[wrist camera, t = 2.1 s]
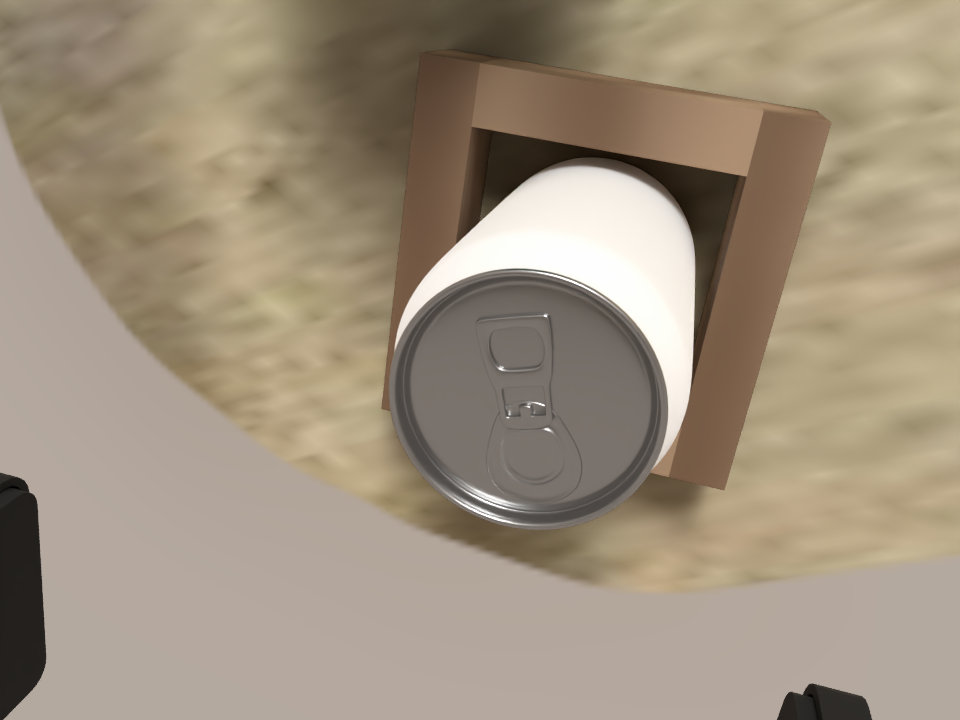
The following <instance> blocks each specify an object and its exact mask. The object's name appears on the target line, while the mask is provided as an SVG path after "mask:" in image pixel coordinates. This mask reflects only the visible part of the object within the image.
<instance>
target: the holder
mask: <svg viewBox="0 0 960 720" xmlns="http://www.w3.org/2000/svg"><path fill="white" fill-rule="evenodd" d="M830 126H831V122H830V121H829V120H827V119H826V118H825V117H824V116H823V115H821V114H820V113H819V112H818V111H813V110H807V109H801V108H795V107H789V106H783V105H777V104H771V103H765V102H759V101H754V100H748V99H742V98H736V97H730V96H724V95H718V94H712V93H706V92H700V91H694V90H688V89H682V88H676V87H670V86H664V85H658V84H652V83H646V82H641V81H635V80H629V79H623V78H617V77H611V76H605V75H599V74H593V73H587V72H581V71H575V70H569V69H563V68H557V67H551V66H545V65H539V64H534V63H528V62H522V61H516V60H510V59H504V58H498V57H492V56H486V55H480V54H474V53H468V52H462V51H456V50H450V49H447V50H440V51H432V52H425V53H420V62H419V72H418V81H417V90H416V99H415V108H414V117H413V126H412V135H411V145H410V154H409V163H408V172H407V181H406V190H405V199H404V208H403V218H402V227H401V236H400V245H399V254H398V263H397V272H396V281H395V291H394V300H393V309H392V318H391V327H390V336H389V345H388V354H387V363H386V373H385V382H384V391H383V400H382V409H384V410H388V411H391V410H390V404H389V374H390V368H391V363H392V359H393V355H394V350H395V341H396V336H397V331H398V327H399V324H400V321H401V318H402V315H403V313H404V310H405V308H406V306H407V304H408V302H409V300H410V298H411V297H412V295H413V293H414V292H415V290H416V288H417V287H418V285H419V284H420V283H421V281H422V280H423V279H424V277H425V276H426V275H427V274H428V273H429V271H430V270H431V269H432V268H433V267H434V266H435V265H436V264H437V263H438V262H439V261H440V260H441V259H442V258H443V257H444V256H445V255H446V254H447V253H448V252H449V251H450V250H451V249H452V248H453V247H454V246H455V245H456V244H457V243H458V242H459V241H460V240H461V239H462V238H463V237H464V236H466V235H467V234H468V233H469V232H470V231H471V230H472V229H473V228H474V227H475V226H476V225H477V224H478V223H479V219H480V212H481V205H482V198H483V191H484V184H485V177H486V170H487V163H488V157H489V150H490V143H491V136H492V130H493V131H499V132H504V133H510V134H515V135H521V136H526V137H532V138H537V139H543V140H548V141H554V142H559V143H565V144H570V145H576V146H581V147H587V148H592V149H598V150H603V151H609V152H614V153H620V154H625V155H631V156H636V157H642V158H647V159H653V160H658V161H664V162H669V163H675V164H680V165H686V166H691V167H697V168H702V169H708V170H713V171H719V172H724V173H730V174H735V175H738V178H737V182H736V186H735V190H734V193H733V197H732V201H731V205H730V209H729V213H728V217H727V221H726V225H725V228H724V232H723V236H722V240H721V244H720V248H719V252H718V256H717V260H716V264H715V267H714V271H713V275H712V279H711V283H710V287H709V291H708V295H707V299H706V303H705V306H704V310H703V314H702V318H701V322H700V326H699V330H698V334H697V338H696V341H695V345H694V349H693V363H692V379H691V388H690V395H689V401H688V405H687V409H686V413H685V416H684V419H683V422H682V425H681V427H680V429H679V432H678V434H677V436H676V438H675V440H674V442H673V443H672V445H671V447H670V448H669V450H668V451H667V453H666V454H665V455H664V457H663V458H662V459H661V461H660V462H659V463H658V464H657V465H656V466H655V467H654V468H653V469H652V470H651V472H650V473H653V474H658V475H662V476H666V477H670V478H674V479H679V480H683V481H687V482H691V483H695V484H700V485H704V486H708V487H712V488H716V489H721V490H725V486H726V483H727V479H728V476H729V473H730V469H731V466H732V462H733V459H734V455H735V452H736V448H737V445H738V442H739V438H740V435H741V431H742V428H743V424H744V421H745V418H746V414H747V411H748V407H749V404H750V400H751V397H752V394H753V390H754V387H755V383H756V380H757V376H758V373H759V370H760V366H761V363H762V359H763V356H764V352H765V349H766V345H767V342H768V339H769V335H770V332H771V328H772V325H773V321H774V318H775V315H776V311H777V308H778V304H779V301H780V297H781V294H782V291H783V287H784V284H785V280H786V277H787V273H788V270H789V267H790V263H791V260H792V256H793V253H794V249H795V246H796V242H797V239H798V236H799V232H800V229H801V225H802V222H803V218H804V215H805V212H806V208H807V205H808V201H809V198H810V194H811V191H812V188H813V184H814V181H815V177H816V174H817V170H818V167H819V164H820V160H821V157H822V153H823V150H824V146H825V143H826V139H827V136H828V133H829V129H830Z"/></svg>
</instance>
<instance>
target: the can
mask: <svg viewBox="0 0 960 720" xmlns="http://www.w3.org/2000/svg"><path fill="white" fill-rule="evenodd" d="M694 306H695V252H694V243H693V238H692V234H691V230H690V227H689V224H688V222H687V219H686V217H685V215H684V213H683V211H682V209H681V208H680V206H679V204H678V203H677V201H676V200H675V199H674V197H673V196H672V195H671V194H670V192H669V191H668V190H667V189H666V188H665V187H664V186H663V185H662V184H661V183H659V182H658V181H657V180H656V179H654V178H653V177H652V176H650V175H649V174H647V173H646V172H644V171H642V170H640V169H638V168H636V167H634V166H632V165H629V164H627V163H624V162H621V161H617V160H612V159H607V158H596V157H587V158H576V159H571V160H566V161H563V162H559V163H556V164H554V165H551V166H549V167H547V168H545V169H543V170H541V171H539V172H537V173H536V174H534V175H533V176H531V177H530V178H529V179H527V180H526V181H525V182H523V183H522V184H521V185H520V186H519V187H518V188H516V189H515V190H514V191H513V192H512V193H511V194H510V195H509V196H507V197H506V198H505V199H504V200H503V201H502V202H501V203H500V204H499V205H498V206H497V207H495V208H494V209H493V210H492V211H491V212H490V213H489V214H488V215H487V216H486V217H485V218H484V219H483V220H482V221H480V222H479V223H478V224H477V225H476V226H475V227H474V228H473V229H472V230H471V231H470V232H469V233H468V234H467V235H466V236H464V237H463V238H462V239H461V240H460V241H459V242H458V243H457V244H456V245H455V246H454V247H453V248H452V249H451V250H450V251H449V252H448V253H447V254H446V255H445V256H444V257H443V258H442V259H441V260H440V261H439V262H438V263H437V264H436V265H435V266H434V267H433V268H432V269H431V270H430V271H429V273H428V274H427V275H426V276H425V277H424V279H423V280H422V281H421V283H420V284H419V285H418V287H417V288H416V290H415V292H414V293H413V295H412V297H411V298H410V300H409V302H408V304H407V306H406V308H405V310H404V313H403V315H402V318H401V321H400V324H399V327H398V331H397V336H396V341H395V350H394V355H393V359H392V363H391V368H390V374H389V404H390V410H391V415H392V420H393V423H394V427H395V430H396V433H397V435H398V438H399V440H400V442H401V444H402V446H403V448H404V450H405V452H406V454H407V456H408V457H409V459H410V460H411V462H412V463H413V465H414V466H415V468H416V469H417V470H418V472H419V473H420V474H421V475H422V476H423V478H424V479H425V480H426V481H427V482H428V483H429V484H430V485H431V486H432V487H433V488H434V489H435V490H436V491H438V492H439V493H440V494H441V495H442V496H444V497H445V498H446V499H448V500H449V501H450V502H452V503H453V504H455V505H456V506H458V507H460V508H461V509H463V510H465V511H467V512H469V513H471V514H473V515H475V516H477V517H479V518H482V519H484V520H487V521H490V522H493V523H496V524H499V525H503V526H508V527H513V528H519V529H528V530H551V529H560V528H566V527H571V526H575V525H579V524H582V523H585V522H588V521H591V520H593V519H596V518H598V517H600V516H602V515H604V514H606V513H608V512H609V511H611V510H613V509H614V508H616V507H617V506H619V505H620V504H621V503H623V502H624V501H625V500H626V499H628V498H629V497H630V496H631V495H632V494H633V493H634V492H635V491H636V490H637V489H638V488H639V487H640V485H641V484H642V483H643V482H644V480H645V479H646V478H647V476H648V475H649V473H650V472H651V470H652V469H653V468H654V467H655V466H656V465H657V464H658V463H659V462H660V461H661V459H662V458H663V457H664V455H665V454H666V453H667V451H668V450H669V448H670V447H671V445H672V443H673V442H674V440H675V438H676V436H677V434H678V432H679V429H680V427H681V425H682V422H683V419H684V416H685V413H686V409H687V405H688V401H689V395H690V388H691V379H692V363H693V339H694Z"/></svg>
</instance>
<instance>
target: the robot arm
mask: <svg viewBox="0 0 960 720" xmlns="http://www.w3.org/2000/svg"><path fill="white" fill-rule="evenodd" d="M39 542H40V541H39V525H38V507H37V500H36V498H35V496H34V495H33V494H31V493H29V489H28V485H27V484H26V482H25V481H24V480H22V479H20V478H18V477H14V476H11V475H6V474H3V473H0V720H3V719H4V718H5V717H6V716H7V715H8V714H9V713H10V712H11V711H12V710H13V709H14V708H15V707H16V706H17V705H18V704H19V703H20V702H21V701H22V700H23V699H24V698H25V697H26V696H27V695H28V694H29V693H30V692H31V691H32V690H33V688H34V687H35V686H36V685H37V683H38V681H39V680H40V678H41V676H42V674H43V671H44V668H45V664H46V645H45V628H44V611H43V593H42V576H41V558H40V543H39ZM777 720H872V718H871V714H870V710H869V707H868V704H867V702H866V700H865V699H864V698H863V697H862V696H858V695H855V694H851V693H847V692H843V691H839V690H835V689H832V688H828V687H824V686H819V685H816V684H809V685H808V686H807V688H806V689H805V691H804V694H803V695H801V694H798V693H793V692H789V693H788V694H787V695H786V697H785V699H784V702H783V705H782V707H781V710H780V713H779V716H778V718H777Z"/></svg>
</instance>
